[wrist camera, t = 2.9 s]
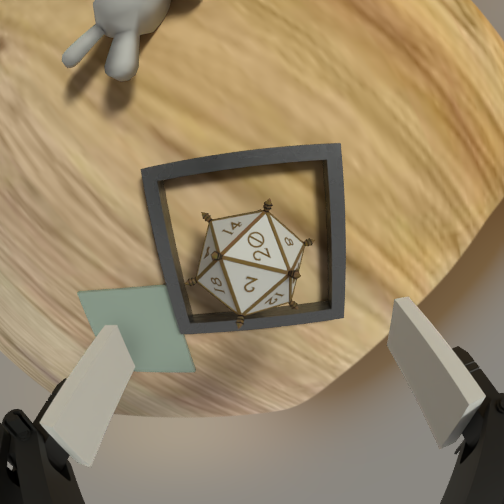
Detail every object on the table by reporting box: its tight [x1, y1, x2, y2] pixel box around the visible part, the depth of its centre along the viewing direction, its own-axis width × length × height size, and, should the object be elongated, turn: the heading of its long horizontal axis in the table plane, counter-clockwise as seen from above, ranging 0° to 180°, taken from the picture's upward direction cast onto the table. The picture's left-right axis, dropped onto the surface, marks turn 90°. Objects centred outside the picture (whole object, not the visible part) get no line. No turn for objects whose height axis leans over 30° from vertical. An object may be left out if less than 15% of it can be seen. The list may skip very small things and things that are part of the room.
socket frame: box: [141, 143, 346, 334], centre depth 23 cm, size 15×15×2 cm
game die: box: [185, 198, 315, 329], centre depth 20 cm, size 9×8×10 cm
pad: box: [77, 285, 196, 372], centre depth 27 cm, size 11×11×1 cm
